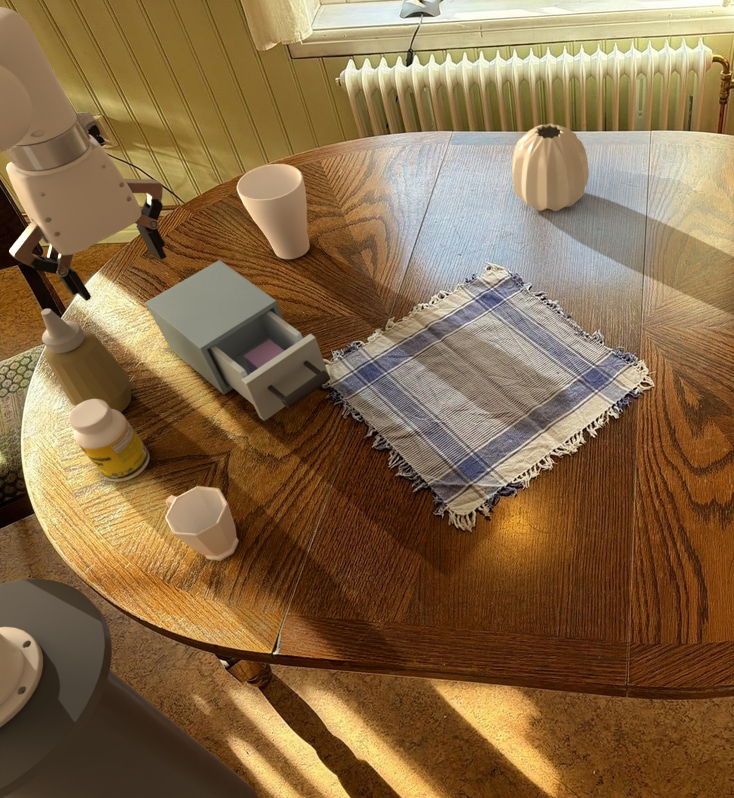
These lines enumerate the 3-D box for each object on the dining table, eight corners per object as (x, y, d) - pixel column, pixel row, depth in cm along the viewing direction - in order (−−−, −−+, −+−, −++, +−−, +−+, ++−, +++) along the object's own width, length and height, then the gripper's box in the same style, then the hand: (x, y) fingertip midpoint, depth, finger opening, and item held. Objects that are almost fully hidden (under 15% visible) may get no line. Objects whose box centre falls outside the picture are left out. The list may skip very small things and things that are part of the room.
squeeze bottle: (150, 402, 108) (90, 309, 94) (96, 434, 104) (26, 343, 91) (123, 374, 112) (63, 282, 98) (71, 405, 108) (0, 313, 94)
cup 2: (294, 275, 126) (271, 207, 116) (249, 256, 129) (222, 189, 119) (335, 241, 132) (316, 173, 121) (290, 224, 135) (268, 157, 125)
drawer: (350, 391, 107) (338, 353, 101) (285, 439, 101) (268, 402, 96) (274, 333, 115) (258, 295, 109) (210, 375, 110) (190, 337, 104)
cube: (272, 392, 106) (264, 373, 103) (252, 374, 108) (243, 355, 105) (298, 375, 108) (290, 356, 105) (277, 358, 110) (269, 338, 107)
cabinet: (294, 347, 114) (276, 300, 107) (224, 395, 108) (199, 348, 101) (240, 306, 121) (219, 259, 114) (170, 349, 115) (144, 302, 108)
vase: (592, 181, 142) (595, 114, 131) (578, 224, 133) (580, 156, 123) (522, 173, 144) (519, 107, 134) (504, 215, 135) (499, 148, 125)
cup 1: (220, 580, 89) (195, 546, 83) (162, 544, 92) (133, 509, 86) (261, 535, 93) (240, 500, 87) (204, 502, 96) (180, 466, 90)
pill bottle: (92, 474, 100) (50, 422, 91) (127, 440, 103) (89, 387, 95) (127, 490, 98) (86, 438, 90) (161, 455, 101) (125, 402, 93)
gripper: (107, 98, 82) (169, 227, 95) (-56, 166, 73) (36, 298, 86) (143, 120, 78) (202, 251, 91) (-25, 194, 70) (67, 326, 83)
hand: (121, 273), depth 89 cm, fingers open, 9 cm apart
